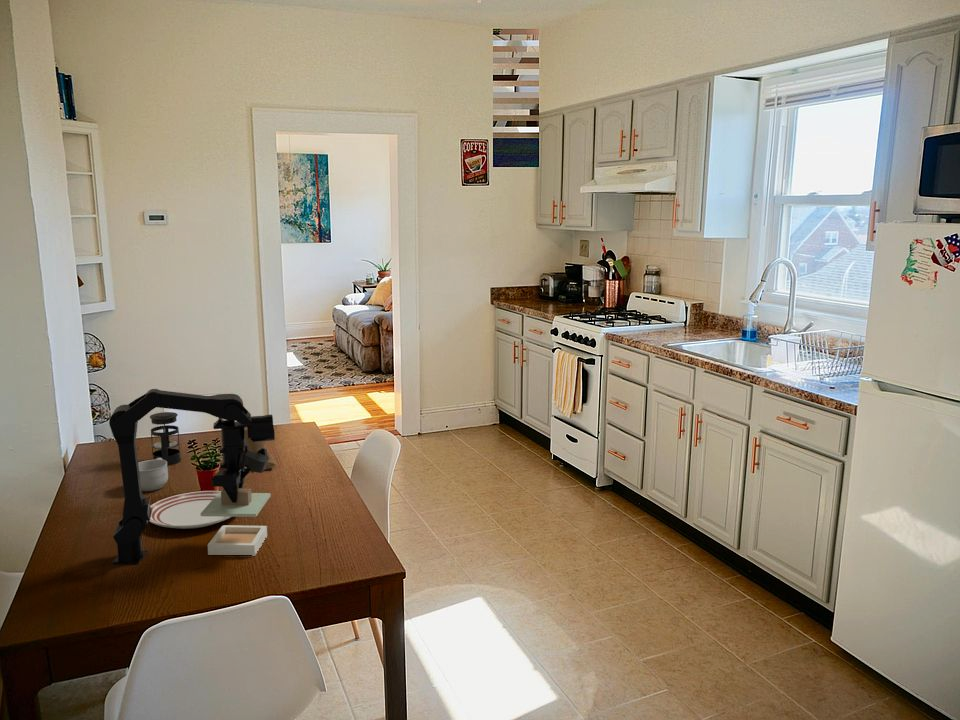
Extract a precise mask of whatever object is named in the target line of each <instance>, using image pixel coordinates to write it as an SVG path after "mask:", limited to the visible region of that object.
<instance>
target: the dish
mask: <svg viewBox="0 0 960 720" xmlns="http://www.w3.org/2000/svg"><path fill="white" fill-rule="evenodd" d="M267 537H268V525H234V524H231V525H229V524H228V525H226V524H225V525H221V527H220V528H219V529H218V531H217V532H216V533H215V535H214V536H213V537H212V539H211V540H210V541H209V542H208V544H207V555H252V556H251V557H255V556H256V555H257V553H258V552H259V550H260V549H259V548H261V547H262V545H263V544H262V543H264V542H265V541H264V540H266V539H267ZM265 538H266V539H265ZM257 551H258V552H257Z"/></svg>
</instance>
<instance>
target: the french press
mask: <svg viewBox="0 0 960 720" xmlns="http://www.w3.org/2000/svg"><path fill="white" fill-rule="evenodd" d="M178 415H179V414H178V413H177V412H173V411H165V408H162V412H157V413H156V412H155V413H153V414H150V415H149V419H150V421H151V424H152V425H158V426H155V427H152V428H151V429H150V436H151V440H150V441H151V452H152V460H154V459H157V458H162V459H163V460H165V461H167V467H168V466H173V465H176V464H179V463H181V461H182V458H181V447H180V446H181V445H180V432H179V430H180V428H179V426H177V425H174V423H176V422H177V417H178ZM169 424H171V425H169ZM172 424H173V425H172ZM159 425H160V426H159ZM160 430H161V431H163V432H157V431H160ZM169 430H171V431H169ZM176 434H177V439H178V441H176V440H170V436H173V435H174V436H175V435H176ZM153 436H154V437H160V441H158V442H155V443H153ZM176 447H178V449H177V448H176ZM154 449H155V451H154Z"/></svg>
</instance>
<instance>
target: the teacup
mask: <svg viewBox="0 0 960 720" xmlns="http://www.w3.org/2000/svg"><path fill="white" fill-rule="evenodd" d="M138 465H139V474H140V482H141V491H142V492H152V491H157V490H160V489H161V488H163V487H164V486H165V484H166V483H167V482H168V481H169V469H168V466H167V461H165V460H163V459H162V458H157V459H154V460H153V459H148V460H143V461H142V460H141V461H138Z"/></svg>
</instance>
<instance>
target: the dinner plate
mask: <svg viewBox="0 0 960 720" xmlns="http://www.w3.org/2000/svg"><path fill="white" fill-rule="evenodd" d="M221 492H222V490H202V491H201V490H199V491H191V492H186V493H180V494H176V495H172V496H169V497H166V498H163V499H160V500H158V501H156V502H154V503H153V504H150V507H151V509H152V514H151V518H150V521H148V523H151V524H154V525H156V526H159V527H164V528H170V529H180V530H187V529H189V530H190V529H191V530H192V529H199V528H204V527H208V526H213V525H215V524H218V523H221V522H224V521H226V520H228V519H231V517H222V516H201V512H202V511H203V510H204V509H205V508H206V507H207V505H208V504H209V503H210V502H211V501H212V500H213V499H214V498H215V496H216V495H217V494H218V493H221Z"/></svg>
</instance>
